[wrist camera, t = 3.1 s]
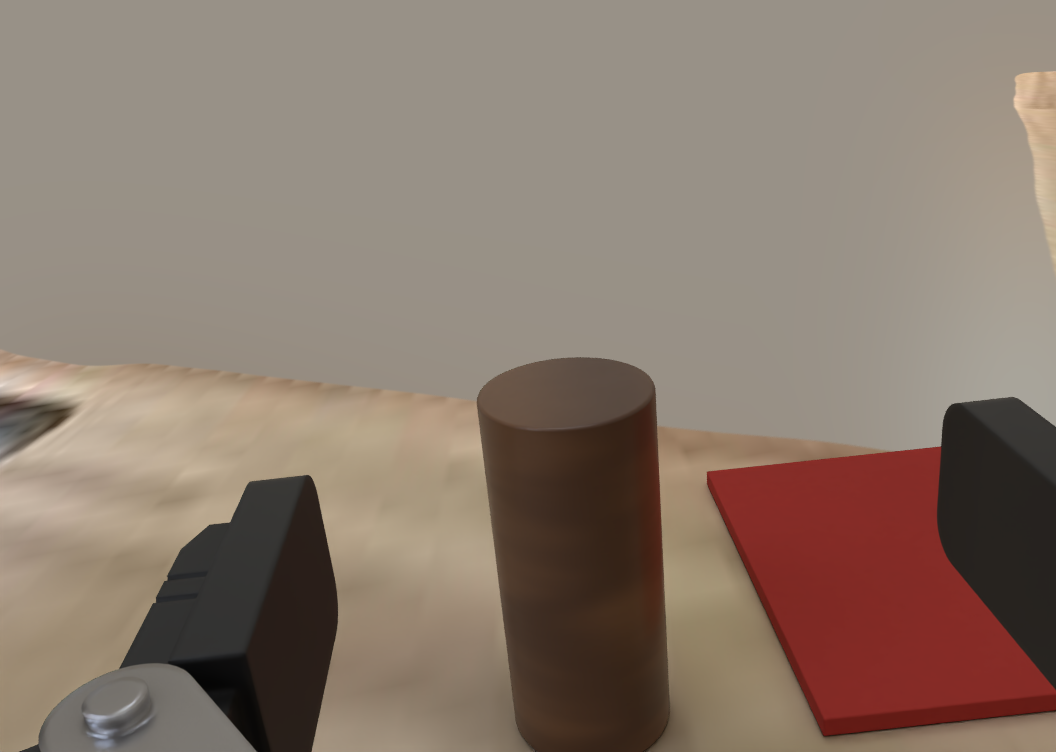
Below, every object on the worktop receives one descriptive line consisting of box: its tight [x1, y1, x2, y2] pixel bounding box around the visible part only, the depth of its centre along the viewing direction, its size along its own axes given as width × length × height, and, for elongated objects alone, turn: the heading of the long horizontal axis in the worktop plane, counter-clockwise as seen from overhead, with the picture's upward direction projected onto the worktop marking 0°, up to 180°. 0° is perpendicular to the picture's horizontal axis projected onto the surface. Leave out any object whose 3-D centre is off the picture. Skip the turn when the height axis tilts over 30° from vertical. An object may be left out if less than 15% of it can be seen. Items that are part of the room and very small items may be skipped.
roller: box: [477, 357, 670, 752], centre depth 26 cm, size 4×4×10 cm
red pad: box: [707, 447, 1056, 736], centre depth 33 cm, size 16×14×1 cm
